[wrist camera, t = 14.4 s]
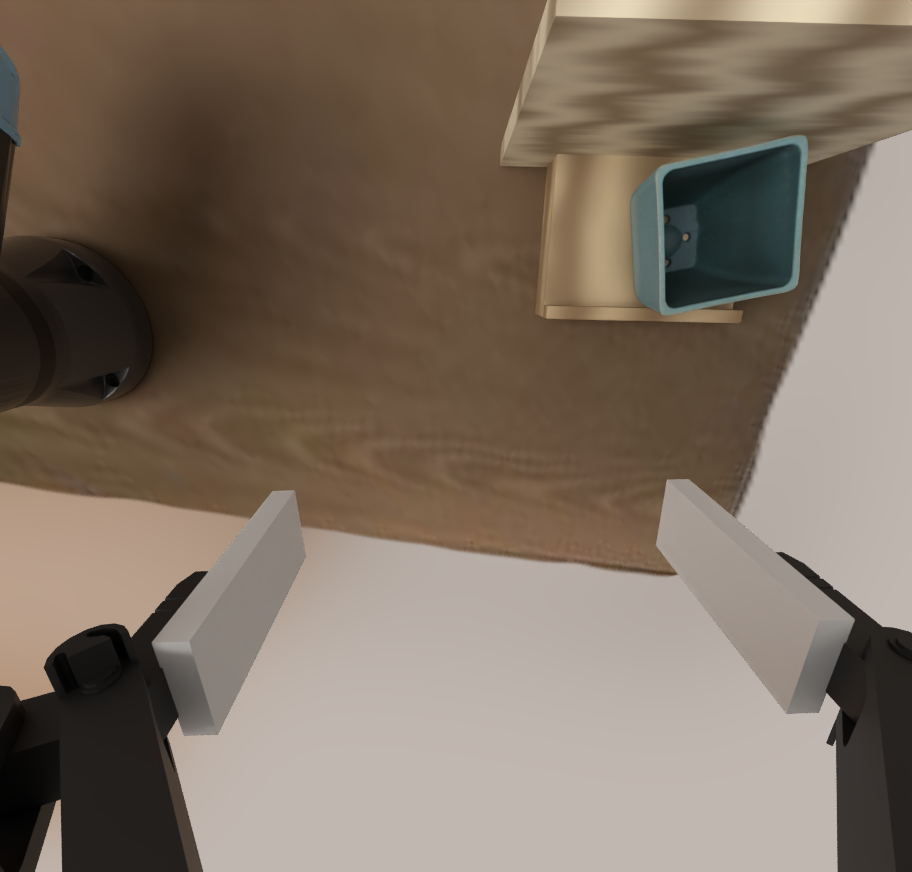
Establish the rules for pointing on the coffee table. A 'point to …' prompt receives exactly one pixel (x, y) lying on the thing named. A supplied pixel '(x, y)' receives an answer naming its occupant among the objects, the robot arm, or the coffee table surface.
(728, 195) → the flower pot
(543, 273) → the board
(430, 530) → the coffee table surface
